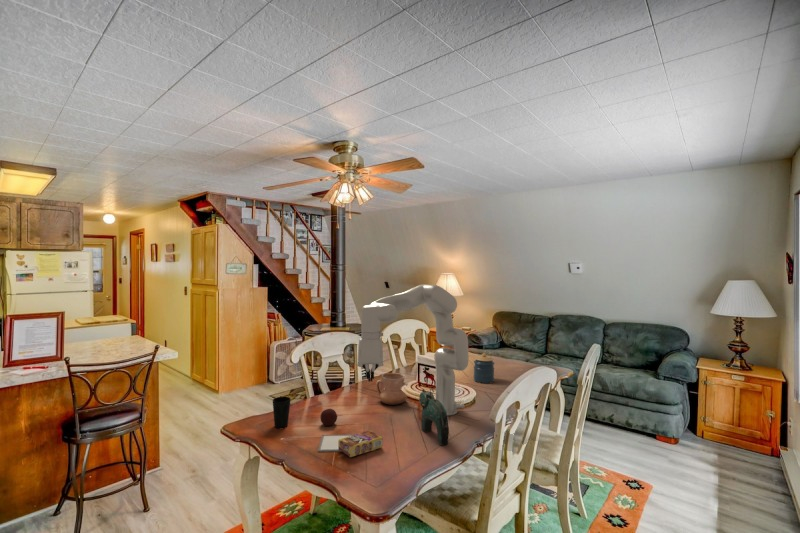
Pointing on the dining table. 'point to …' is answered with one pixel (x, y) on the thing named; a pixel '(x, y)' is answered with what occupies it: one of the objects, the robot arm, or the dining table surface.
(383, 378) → the ceramic jug
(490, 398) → the dining table surface
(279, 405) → the cup
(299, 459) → the dining table surface
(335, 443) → the mat
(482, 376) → the canister
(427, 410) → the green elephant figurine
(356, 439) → the candy box
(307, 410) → the dining table surface
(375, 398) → the dining table surface
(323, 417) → the dark maroon ball
